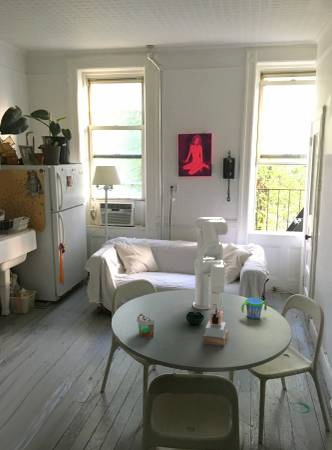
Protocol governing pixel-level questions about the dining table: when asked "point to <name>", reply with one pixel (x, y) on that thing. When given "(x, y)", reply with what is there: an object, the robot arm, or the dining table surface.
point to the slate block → (215, 330)
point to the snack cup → (254, 307)
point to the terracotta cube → (220, 317)
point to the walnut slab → (216, 339)
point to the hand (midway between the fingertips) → (216, 321)
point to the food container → (145, 326)
